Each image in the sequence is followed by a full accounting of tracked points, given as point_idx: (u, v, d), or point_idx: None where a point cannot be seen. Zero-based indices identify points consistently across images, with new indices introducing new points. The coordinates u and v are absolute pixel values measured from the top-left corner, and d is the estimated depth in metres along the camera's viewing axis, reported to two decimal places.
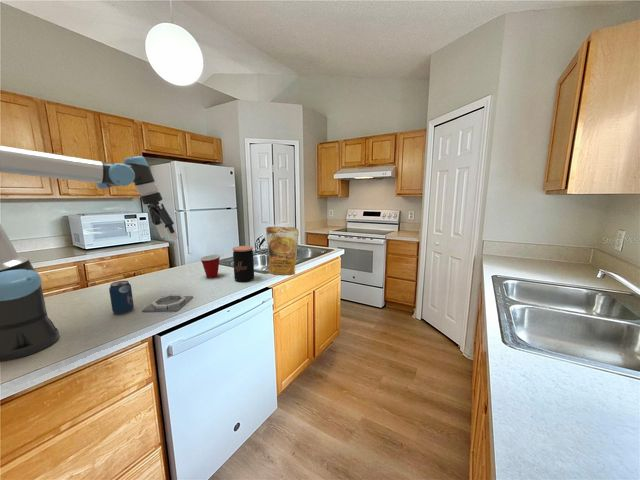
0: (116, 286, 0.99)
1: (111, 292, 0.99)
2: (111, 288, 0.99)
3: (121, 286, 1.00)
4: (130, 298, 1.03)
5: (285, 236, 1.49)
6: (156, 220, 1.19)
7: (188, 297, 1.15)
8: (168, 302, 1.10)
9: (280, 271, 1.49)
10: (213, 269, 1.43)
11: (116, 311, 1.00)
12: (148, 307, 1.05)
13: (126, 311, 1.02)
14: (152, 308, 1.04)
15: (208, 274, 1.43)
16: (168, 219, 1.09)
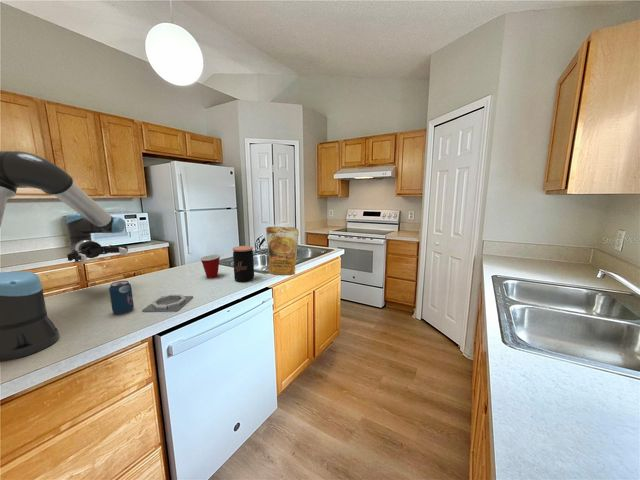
0: (116, 286, 0.99)
1: (111, 292, 0.99)
2: (111, 288, 0.99)
3: (121, 286, 1.00)
4: (130, 298, 1.03)
5: (285, 236, 1.49)
6: (81, 254, 1.05)
7: (188, 297, 1.15)
8: (168, 302, 1.10)
9: (280, 271, 1.49)
10: (213, 269, 1.43)
11: (116, 311, 1.00)
12: (148, 307, 1.05)
13: (126, 311, 1.02)
14: (152, 308, 1.04)
15: (208, 274, 1.43)
16: None
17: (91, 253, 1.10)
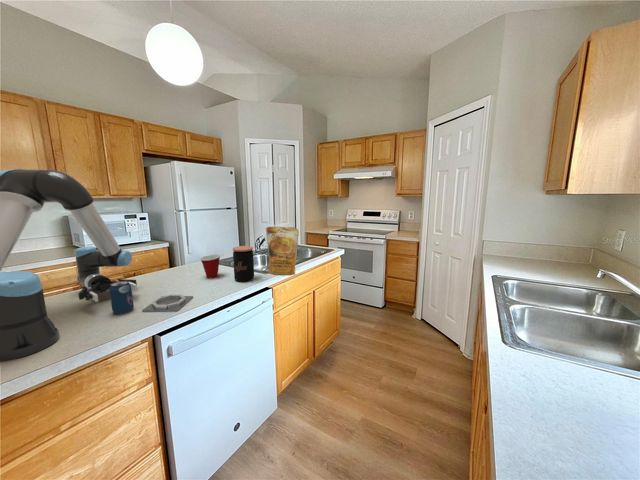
0: (116, 286, 0.99)
1: (111, 292, 0.99)
2: (111, 288, 0.99)
3: (121, 286, 1.00)
4: (130, 298, 1.03)
5: (285, 236, 1.49)
6: (92, 291, 1.06)
7: (188, 297, 1.15)
8: (168, 302, 1.10)
9: (280, 271, 1.49)
10: (213, 269, 1.43)
11: (116, 311, 1.00)
12: (148, 307, 1.05)
13: (126, 311, 1.02)
14: (152, 308, 1.04)
15: (208, 274, 1.43)
16: None
17: (101, 289, 1.11)
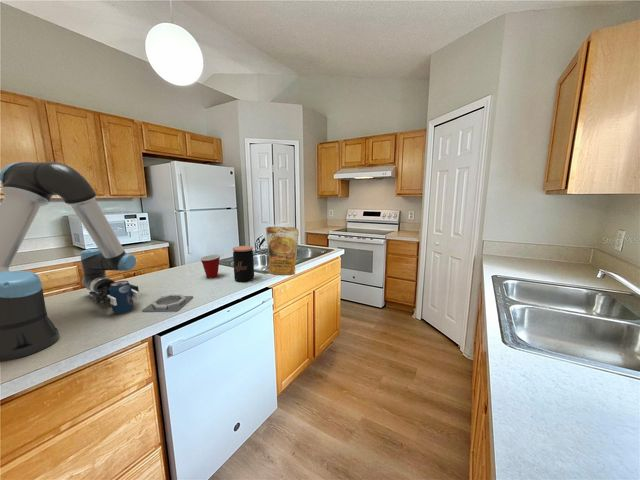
0: (116, 286, 0.99)
1: (111, 292, 0.99)
2: (111, 288, 0.99)
3: (121, 286, 1.00)
4: (130, 298, 1.03)
5: (285, 236, 1.49)
6: (107, 295, 1.02)
7: (188, 297, 1.15)
8: (168, 302, 1.10)
9: (280, 271, 1.49)
10: (213, 269, 1.43)
11: (116, 311, 1.00)
12: (148, 307, 1.05)
13: (126, 311, 1.02)
14: (152, 308, 1.04)
15: (208, 274, 1.43)
16: None
17: (107, 293, 1.06)
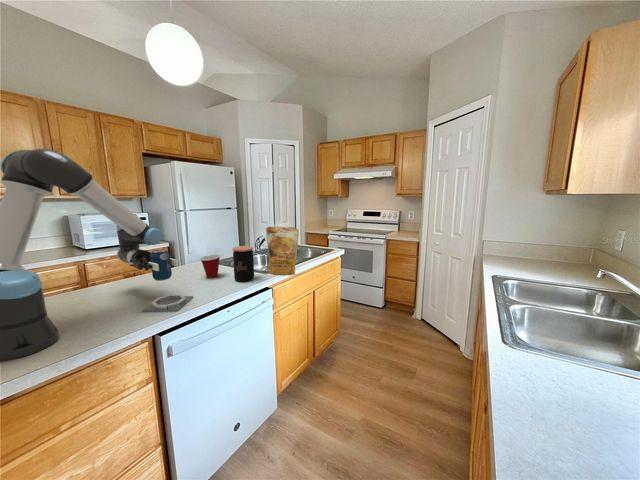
0: (157, 253, 1.03)
1: (152, 259, 1.03)
2: (152, 255, 1.03)
3: (162, 253, 1.04)
4: (169, 266, 1.07)
5: (285, 236, 1.49)
6: None
7: (188, 297, 1.15)
8: (168, 302, 1.10)
9: (280, 271, 1.49)
10: (213, 269, 1.43)
11: (157, 277, 1.05)
12: (148, 307, 1.05)
13: (166, 277, 1.06)
14: (152, 308, 1.04)
15: (208, 274, 1.43)
16: None
17: None
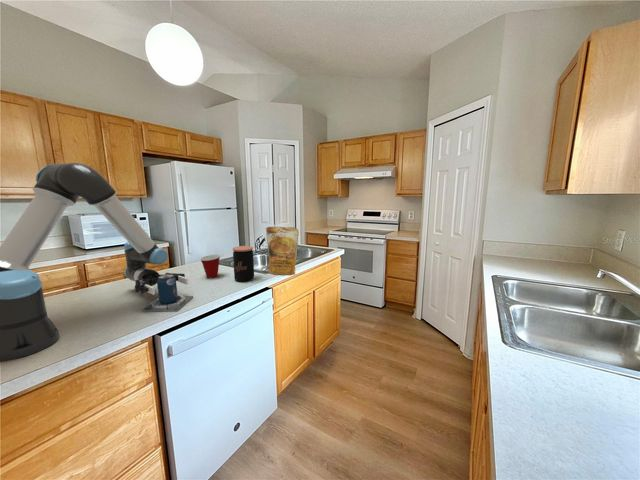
0: (164, 279, 1.05)
1: (159, 284, 1.05)
2: (159, 280, 1.05)
3: (168, 279, 1.06)
4: (175, 290, 1.09)
5: (285, 236, 1.49)
6: (146, 284, 1.07)
7: (188, 297, 1.15)
8: None
9: (280, 271, 1.49)
10: (213, 269, 1.43)
11: (163, 302, 1.06)
12: (148, 307, 1.05)
13: (172, 302, 1.08)
14: (152, 308, 1.04)
15: (208, 274, 1.43)
16: None
17: (152, 282, 1.12)
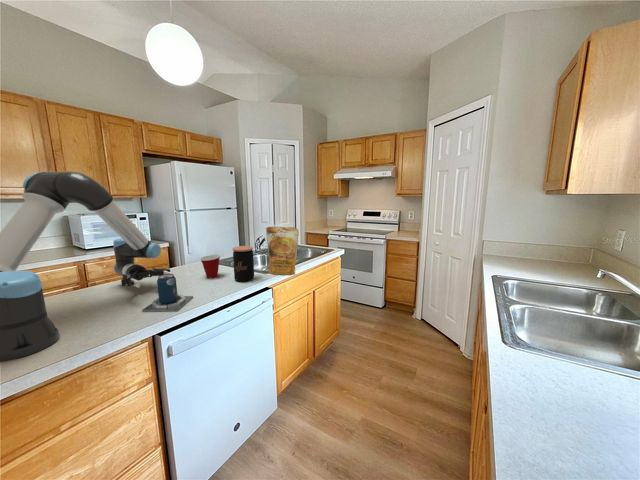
0: (164, 279, 1.05)
1: (159, 284, 1.05)
2: (159, 280, 1.05)
3: (168, 279, 1.06)
4: (175, 290, 1.09)
5: (285, 236, 1.49)
6: (132, 278, 1.14)
7: (188, 297, 1.15)
8: None
9: (280, 271, 1.49)
10: (213, 269, 1.43)
11: (163, 302, 1.06)
12: (148, 307, 1.05)
13: (172, 302, 1.08)
14: (152, 308, 1.04)
15: (208, 274, 1.43)
16: None
17: (139, 277, 1.19)
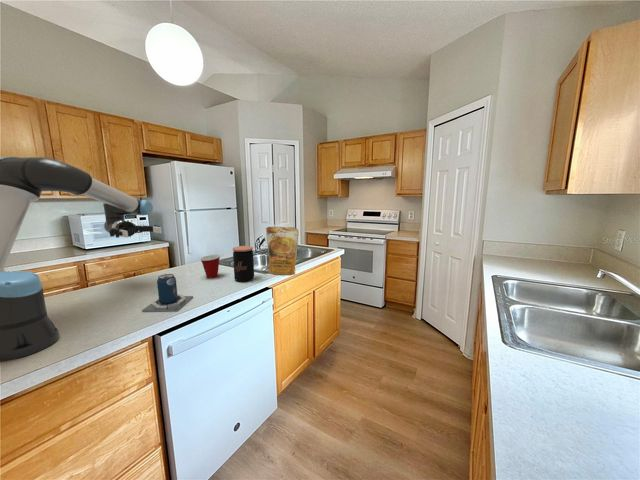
0: (164, 279, 1.05)
1: (159, 284, 1.05)
2: (159, 280, 1.05)
3: (168, 279, 1.06)
4: (175, 290, 1.09)
5: (285, 236, 1.49)
6: None
7: (188, 297, 1.15)
8: None
9: (280, 271, 1.49)
10: (213, 269, 1.43)
11: (163, 302, 1.06)
12: (148, 307, 1.05)
13: (172, 302, 1.08)
14: (152, 308, 1.04)
15: (208, 274, 1.43)
16: None
17: (128, 231, 1.19)
